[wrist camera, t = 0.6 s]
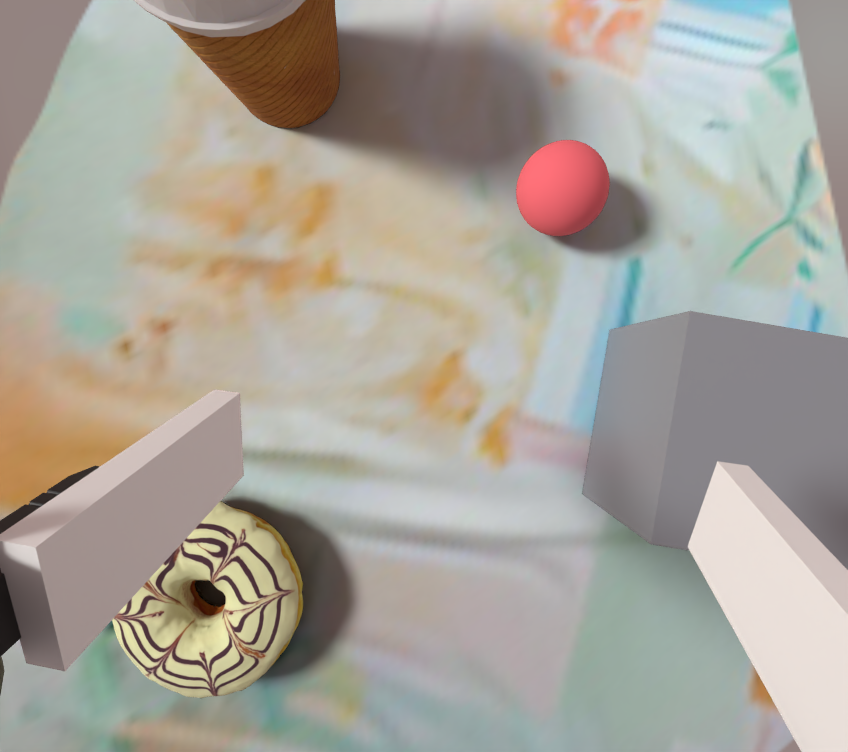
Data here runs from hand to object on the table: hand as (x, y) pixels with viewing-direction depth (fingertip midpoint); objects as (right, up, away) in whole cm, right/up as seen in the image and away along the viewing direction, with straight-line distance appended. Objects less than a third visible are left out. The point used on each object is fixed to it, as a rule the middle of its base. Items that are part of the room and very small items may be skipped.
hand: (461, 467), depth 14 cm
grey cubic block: (+15, -1, +16) cm, 22 cm away
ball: (+7, +13, +14) cm, 20 cm away
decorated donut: (-13, -10, +17) cm, 23 cm away
